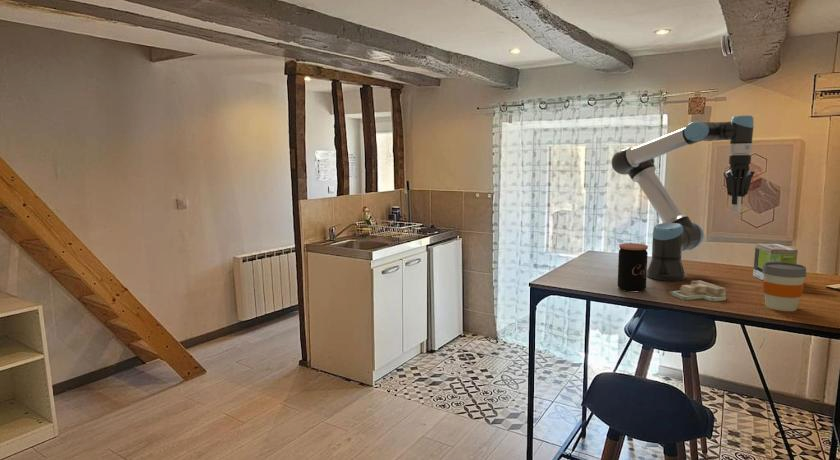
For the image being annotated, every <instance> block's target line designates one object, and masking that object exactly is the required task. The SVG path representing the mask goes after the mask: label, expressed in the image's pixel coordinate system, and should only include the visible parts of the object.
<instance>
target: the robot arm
mask: <svg viewBox="0 0 840 460" xmlns="http://www.w3.org/2000/svg"><path fill="white" fill-rule="evenodd" d="M754 127H755V125H754V117H753V115H734V116H732V117H731V120H730V121H722V122H721V121H719V122H717V121H716V122H714V121H713V122H711V121H693V122H690V123H688V124H687V125H686V127H682V128H680V129H677V130H676V131H673V132H671V133H668V134H665V135H663V136H660V137H657V138H655V139H653V140H651V141H648V142H645V143H642V144H640V145H638V146H635V147H632V146H629V147H627V148H624V149H621V150H618V151H617V152H615V154H613V156H612V159H611V161H610V162H611V167H612V169H613V170H614V171H615V172H616V173H617V174H620V175H628V176H629V177H630V179H631V181H632V182H634V183H637V184H638V186H639V187H640V189H641V190H642V191H643V193H644V195H645V196H646V197H647V200H648V201H649V202H650V204H651V205H652V208H653V209H654V210H655V213H657V215H658V216H659V218H660V220H661V221H662V223H659V224H656V225H655V226H654V227H653V231H652V244H651V245H652V251H651V259H650V261H649V266H648V267H647V278H649V277H650V279H652V278H653V279H652V280H658V281H669V282H679V281H684V280H685V279H686V272H685V269H684V266H683V263H682V255H683V253H682V252H685V251H690V250H693V249H696V248H697V247H699V246H700V245H701V244H702V242H703V239H704V230H703V229H702V227H701V226H700V225H699V224H697V223H695V222H692V220H691V219H690V218H689V216H688V215H685V214H683V213H682V212H681V210H680V209H679V207H678V206H677V204H676V203H675V201H674V200H673V198H672V197H671V195H670V194H669V192H668V190H667V189H666V187H665V186H664V185H663V183H662V182H661V180H660V179H659V177H658V175H657V174H656V169H657V168H656V166H655V159H656V158H658V157H661V156H664V155H666V154H669V153H672V152H674V151H677V150H679V149H682V148H685V147H688V146H691V145H694V144H697V143H698V142H699V143H700V142H702V141H703V142H714V141H715V142H717V141H718V142H719V141H730V143H729V154H730V155H729V156H728V159H729V160H728V164H729V168H728V170H727V171H724V172H723V176H724V178H725V184H726V185H725V186H726V191H727V195H728V196H730V197H731V205H732V207H731V209H732V211H731V212H732V213H734V214H736V213H738V214H740V213H741V209H742V208H741V207H742V204H743V198H744V197H746V196H747V195H748V194H749V190H750V186H751V181H752V178H753V176H754V174H755V171H752V170H750V164H751V162H752V155H751V154H752V147H753V136H754V135H753V134H754Z"/></svg>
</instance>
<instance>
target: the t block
mask: <svg viewBox="0 0 840 460" xmlns="http://www.w3.org/2000/svg"><path fill="white" fill-rule="evenodd" d="M681 287H682V288H681V295H684V296H690V295H701V294H704V295H707V296H710V297H722V296H724V297H726V291H727V288H726V287H723V286H720V285H716V284H714V283H710V282H706V281H703V280H700V279H699V280H691V281H690V284H681Z"/></svg>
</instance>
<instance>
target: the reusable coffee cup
mask: <svg viewBox="0 0 840 460" xmlns="http://www.w3.org/2000/svg"><path fill="white" fill-rule="evenodd" d="M762 272H763V276H764V279H762V280H761V282H762V291H763V293H764V302H765V307H766V308H768V309H771V310H774V311H780V312H795V311H797V310H798V306H799V302H800V298H801V297H802V296H803V293H804V288H805V285H806V283H805V278H806V277H807V266H805V265H802V264H798V263H796V264H793V263H785V262H767V263H764V265H763V270H762Z"/></svg>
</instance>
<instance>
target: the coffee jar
mask: <svg viewBox="0 0 840 460" xmlns="http://www.w3.org/2000/svg"><path fill="white" fill-rule="evenodd" d="M618 247H619V250H618V263H617V288H620V289H621V291H623V290H625V291H624V292H627V291H642V292H644V291H645V290H646V288H647V278H648V276H647V270H648V251H647V250H648V247H649V246H648V245H646V244H644V243H643V244H642V243H635V242H632V243H629V242H627V243H624V242H623V243H620V244H619V245H618ZM620 289H619V290H620ZM643 290H644V291H643Z"/></svg>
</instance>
